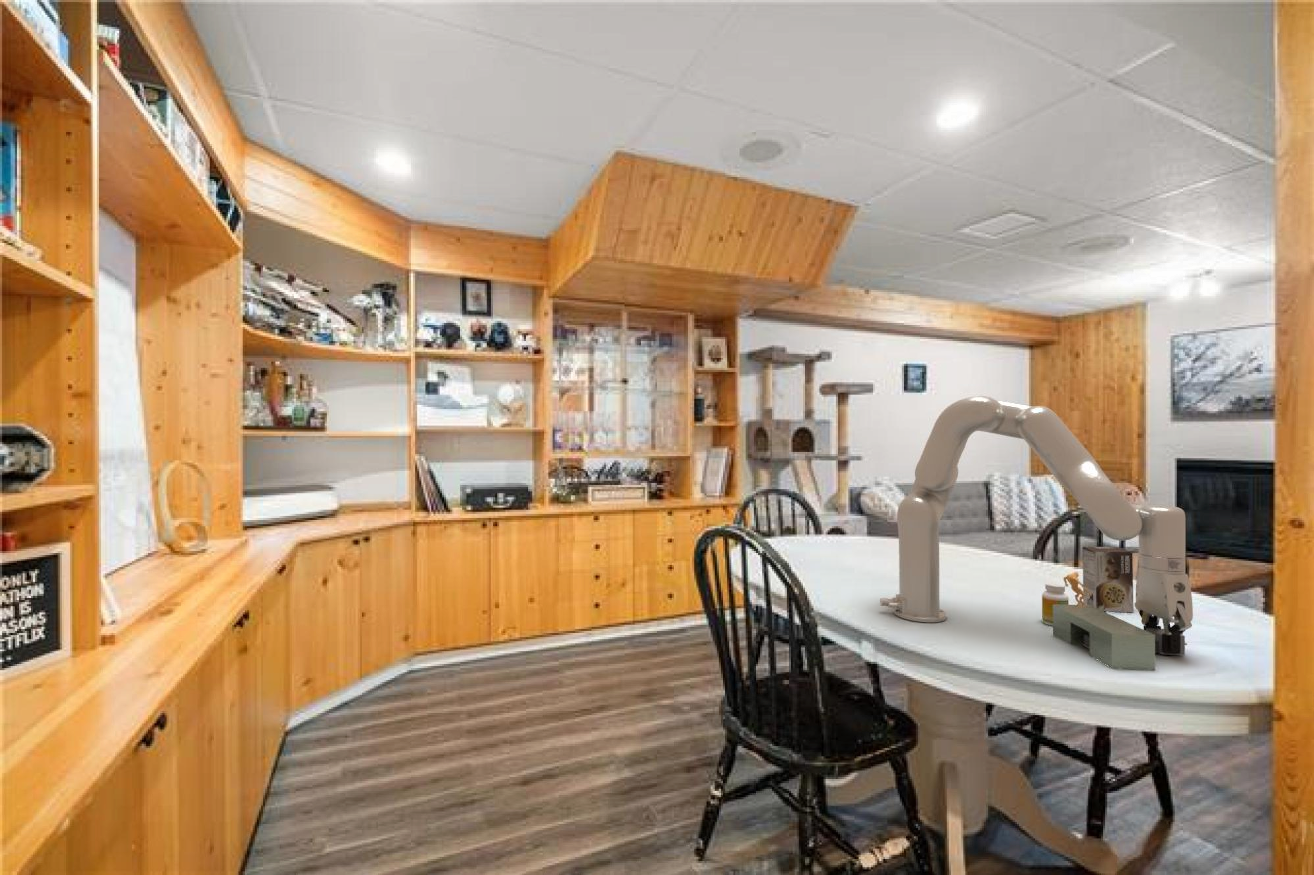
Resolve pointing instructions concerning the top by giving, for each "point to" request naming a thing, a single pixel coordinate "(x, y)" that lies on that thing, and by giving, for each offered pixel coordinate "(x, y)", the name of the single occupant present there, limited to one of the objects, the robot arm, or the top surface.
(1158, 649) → the long grey beam
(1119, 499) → the robot arm
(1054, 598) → the supplement bottle
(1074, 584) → the figurine
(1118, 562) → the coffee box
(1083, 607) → the notched grey-green block
